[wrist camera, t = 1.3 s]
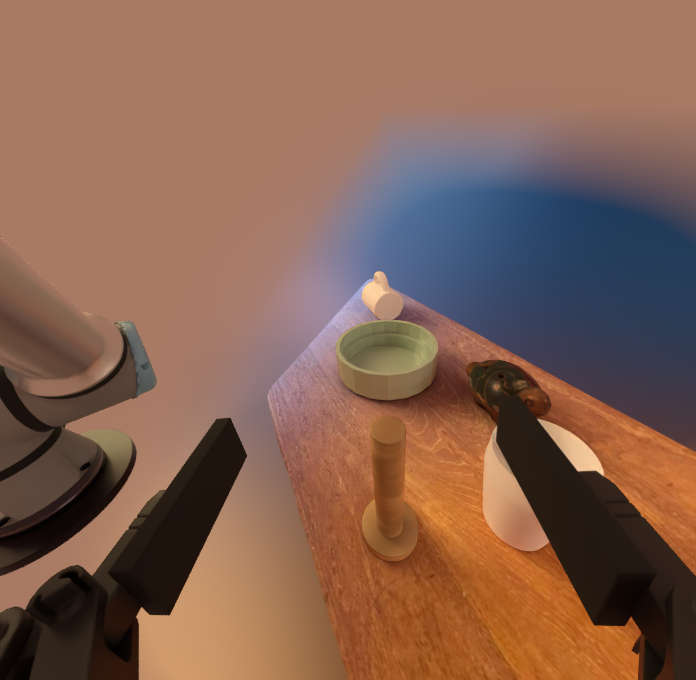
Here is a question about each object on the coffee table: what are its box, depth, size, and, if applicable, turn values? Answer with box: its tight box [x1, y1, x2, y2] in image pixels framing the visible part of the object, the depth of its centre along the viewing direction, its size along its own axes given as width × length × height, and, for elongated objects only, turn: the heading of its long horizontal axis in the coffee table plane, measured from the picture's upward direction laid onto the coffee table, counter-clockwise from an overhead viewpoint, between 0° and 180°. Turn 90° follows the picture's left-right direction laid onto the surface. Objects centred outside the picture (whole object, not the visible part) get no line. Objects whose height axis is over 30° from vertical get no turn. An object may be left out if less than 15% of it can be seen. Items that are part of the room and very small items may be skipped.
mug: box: [362, 272, 403, 320], centre depth 76 cm, size 8×10×12 cm
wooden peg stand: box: [362, 416, 418, 561], centre depth 28 cm, size 6×6×17 cm
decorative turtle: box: [466, 360, 551, 423], centre depth 44 cm, size 10×15×8 cm, turn 22°
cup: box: [483, 419, 604, 551], centre depth 29 cm, size 9×9×12 cm
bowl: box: [336, 320, 438, 400], centre depth 56 cm, size 20×20×6 cm
